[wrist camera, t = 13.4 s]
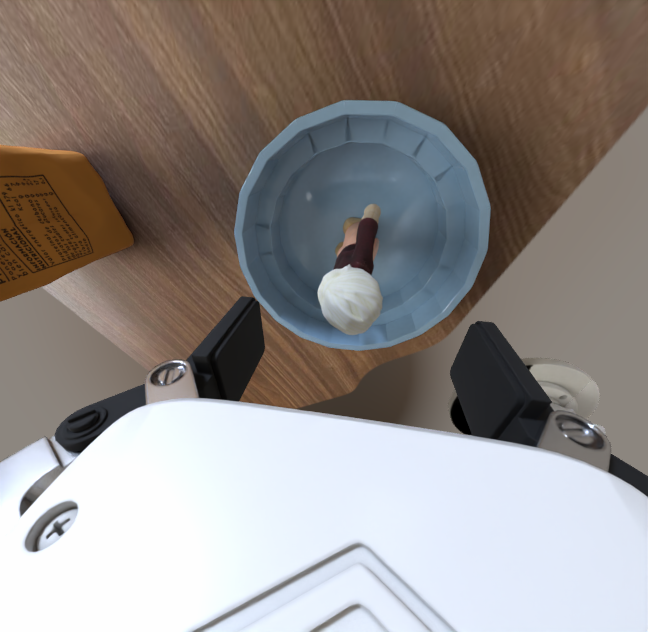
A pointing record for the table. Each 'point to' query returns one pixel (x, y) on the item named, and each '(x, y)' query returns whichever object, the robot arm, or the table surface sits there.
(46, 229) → the coffee package
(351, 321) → the grandmother figurine
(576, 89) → the table surface
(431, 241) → the bowl
